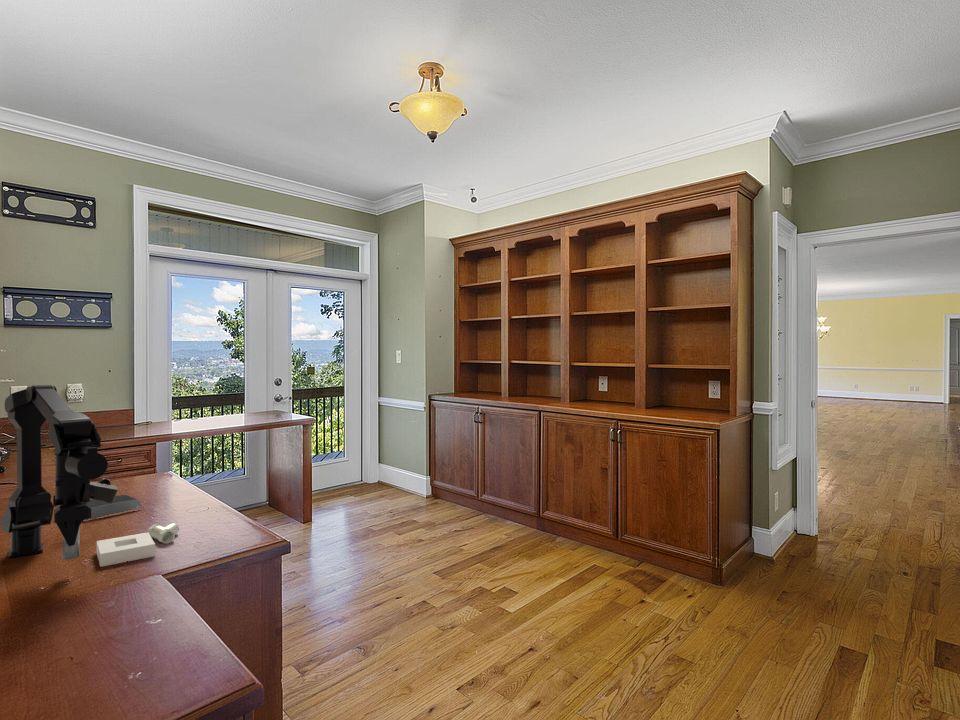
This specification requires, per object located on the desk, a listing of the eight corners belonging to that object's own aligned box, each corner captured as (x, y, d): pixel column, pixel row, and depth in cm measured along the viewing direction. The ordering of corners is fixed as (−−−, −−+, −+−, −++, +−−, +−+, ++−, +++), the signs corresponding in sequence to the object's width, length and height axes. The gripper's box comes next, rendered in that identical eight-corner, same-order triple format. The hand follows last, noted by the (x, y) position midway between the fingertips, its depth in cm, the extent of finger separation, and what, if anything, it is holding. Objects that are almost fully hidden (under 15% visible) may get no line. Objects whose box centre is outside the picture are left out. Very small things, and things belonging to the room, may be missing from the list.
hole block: (96, 553, 132) (96, 541, 132) (148, 543, 139) (148, 532, 139) (100, 566, 123) (100, 554, 123) (155, 556, 130) (155, 543, 130)
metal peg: (62, 556, 119) (62, 512, 119) (79, 553, 121) (79, 509, 121) (62, 560, 117) (63, 515, 117) (79, 557, 118) (80, 512, 118)
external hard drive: (144, 511, 169) (144, 498, 169) (70, 526, 153) (70, 512, 153) (127, 504, 177) (127, 492, 177) (55, 518, 161) (55, 504, 161)
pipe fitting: (173, 534, 148) (147, 539, 143) (174, 520, 148) (148, 524, 143) (187, 540, 143) (160, 545, 138) (188, 526, 144) (161, 530, 138)
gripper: (119, 476, 117) (119, 547, 117) (111, 463, 131) (110, 526, 131) (54, 483, 109) (54, 559, 110) (53, 468, 124) (52, 535, 124)
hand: (71, 543), depth 119 cm, fingers closed on metal peg, 3 cm apart
